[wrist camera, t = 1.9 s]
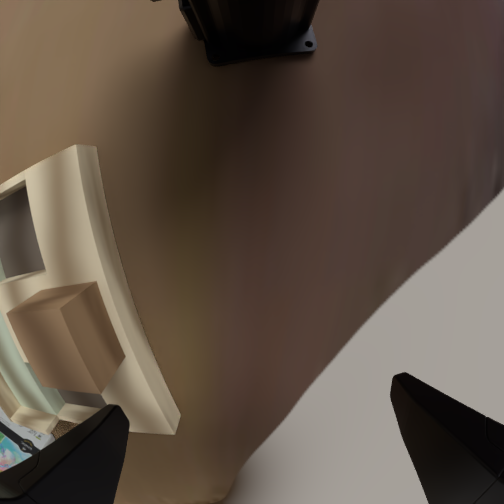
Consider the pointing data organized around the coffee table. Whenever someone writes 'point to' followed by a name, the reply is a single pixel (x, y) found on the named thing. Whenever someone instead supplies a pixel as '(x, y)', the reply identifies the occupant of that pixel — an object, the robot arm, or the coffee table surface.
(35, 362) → the walnut block
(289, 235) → the coffee table surface
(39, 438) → the tea box
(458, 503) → the robot arm
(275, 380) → the coffee table surface
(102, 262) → the board
